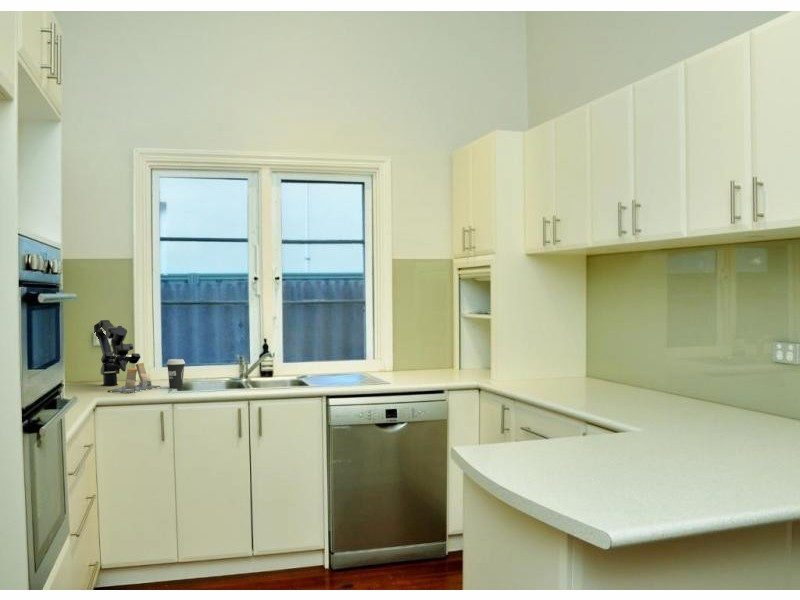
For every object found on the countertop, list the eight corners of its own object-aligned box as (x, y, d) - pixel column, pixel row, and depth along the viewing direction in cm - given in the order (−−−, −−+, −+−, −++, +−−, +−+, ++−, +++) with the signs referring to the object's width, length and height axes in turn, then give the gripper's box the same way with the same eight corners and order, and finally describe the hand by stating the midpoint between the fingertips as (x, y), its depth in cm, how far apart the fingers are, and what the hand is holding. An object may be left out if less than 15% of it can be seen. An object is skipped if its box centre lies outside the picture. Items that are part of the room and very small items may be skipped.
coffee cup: (170, 386, 360) (169, 358, 360) (187, 386, 360) (187, 358, 360) (163, 389, 351) (163, 360, 351) (182, 389, 351) (182, 360, 351)
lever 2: (140, 383, 355) (135, 364, 356) (146, 382, 359) (140, 363, 360) (143, 382, 354) (137, 363, 355) (148, 381, 358) (143, 362, 359)
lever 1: (124, 386, 339) (127, 368, 335) (133, 385, 342) (136, 368, 338) (125, 388, 338) (128, 370, 334) (134, 387, 340) (137, 369, 337)
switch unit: (107, 392, 341) (107, 385, 341) (139, 386, 362) (139, 380, 362) (129, 393, 336) (129, 387, 336) (160, 387, 357) (160, 381, 357)
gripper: (105, 337, 344) (112, 361, 336) (141, 338, 357) (147, 361, 349) (98, 350, 349) (104, 374, 341) (133, 351, 362) (139, 374, 355)
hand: (124, 371), depth 346 cm, fingers closed
